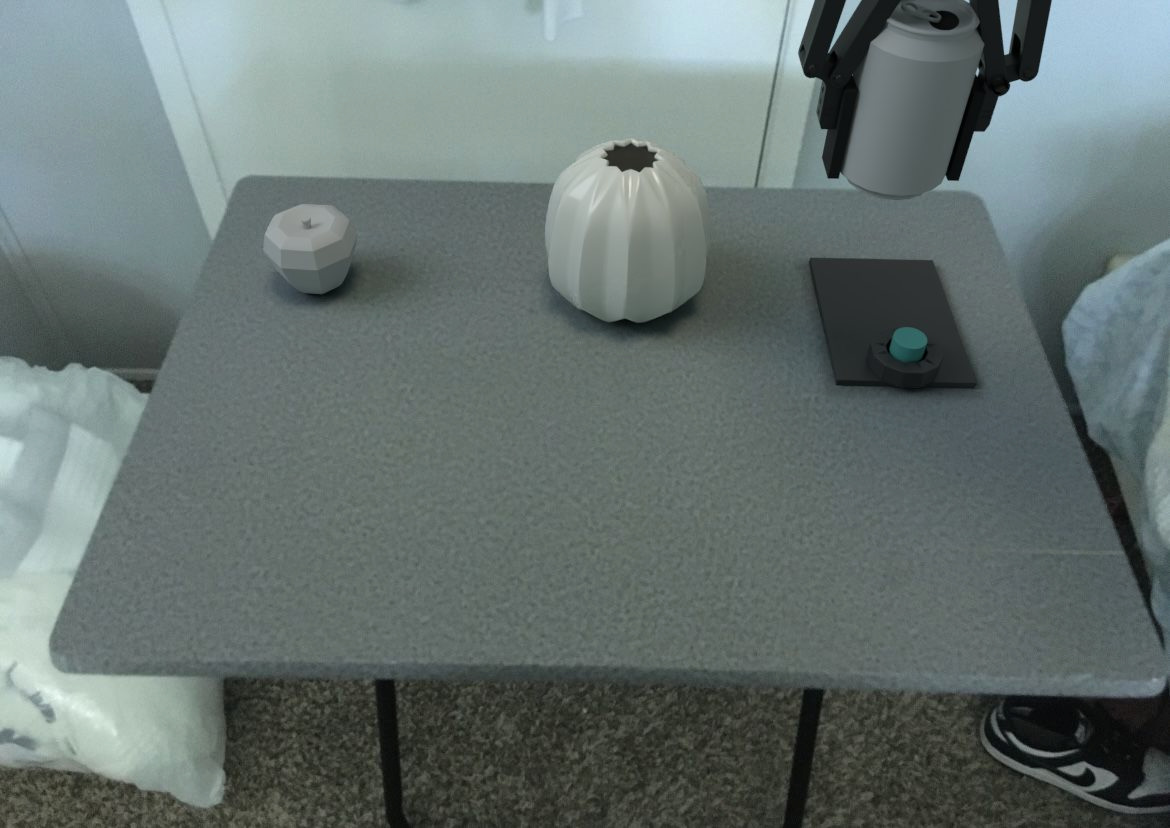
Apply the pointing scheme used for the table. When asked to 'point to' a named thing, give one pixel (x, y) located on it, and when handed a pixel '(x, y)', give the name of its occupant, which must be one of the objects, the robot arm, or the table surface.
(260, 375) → the table surface
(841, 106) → the robot arm
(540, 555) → the table surface
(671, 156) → the vase
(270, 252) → the apple
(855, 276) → the scale
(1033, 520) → the table surface
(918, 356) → the button
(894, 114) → the can
